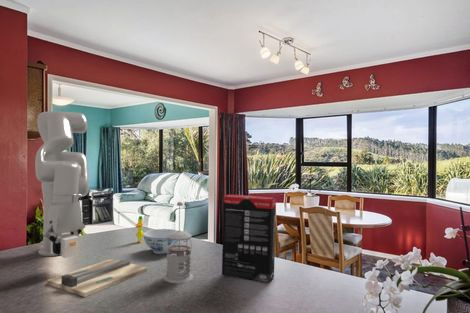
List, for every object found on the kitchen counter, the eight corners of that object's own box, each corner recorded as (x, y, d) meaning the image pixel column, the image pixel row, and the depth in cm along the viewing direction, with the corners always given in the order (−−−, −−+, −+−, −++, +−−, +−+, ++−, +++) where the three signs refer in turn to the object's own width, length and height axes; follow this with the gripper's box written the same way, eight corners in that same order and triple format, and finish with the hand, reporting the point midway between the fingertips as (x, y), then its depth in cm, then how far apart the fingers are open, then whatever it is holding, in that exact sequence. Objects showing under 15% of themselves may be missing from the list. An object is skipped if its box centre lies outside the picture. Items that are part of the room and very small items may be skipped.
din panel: (47, 283, 98) (47, 272, 98) (111, 261, 119) (111, 252, 119) (85, 297, 89) (85, 284, 89) (146, 270, 110) (146, 260, 110)
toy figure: (140, 244, 142) (140, 218, 143) (132, 244, 143) (132, 217, 143) (145, 240, 149) (146, 215, 149) (138, 240, 150) (138, 215, 150)
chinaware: (187, 250, 135) (187, 232, 135) (161, 259, 123) (161, 239, 123) (162, 244, 143) (162, 227, 143) (135, 252, 131) (135, 234, 131)
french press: (157, 280, 102) (158, 202, 102) (176, 268, 113) (177, 198, 113) (183, 285, 98) (185, 204, 99) (201, 272, 109) (202, 200, 109)
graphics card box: (275, 277, 106) (277, 196, 106) (271, 285, 100) (272, 198, 100) (227, 270, 112) (229, 193, 112) (220, 277, 105) (222, 195, 105)
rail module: (50, 253, 109) (51, 236, 108) (64, 249, 113) (64, 232, 113) (66, 258, 105) (66, 240, 104) (79, 254, 109) (80, 236, 109)
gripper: (81, 194, 118) (80, 243, 118) (33, 201, 103) (32, 256, 103) (94, 197, 114) (93, 247, 115) (47, 203, 99) (46, 261, 100)
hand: (64, 250), depth 109 cm, fingers closed on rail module, 5 cm apart
